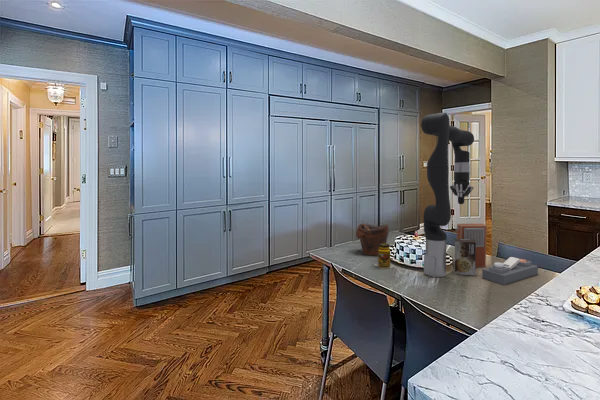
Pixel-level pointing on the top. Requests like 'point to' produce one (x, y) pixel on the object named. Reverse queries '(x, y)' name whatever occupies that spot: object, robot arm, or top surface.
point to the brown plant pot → (372, 237)
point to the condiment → (383, 256)
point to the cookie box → (465, 256)
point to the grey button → (498, 265)
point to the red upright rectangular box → (477, 234)
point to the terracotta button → (523, 260)
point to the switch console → (510, 273)
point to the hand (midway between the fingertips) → (461, 203)
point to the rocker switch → (511, 262)
